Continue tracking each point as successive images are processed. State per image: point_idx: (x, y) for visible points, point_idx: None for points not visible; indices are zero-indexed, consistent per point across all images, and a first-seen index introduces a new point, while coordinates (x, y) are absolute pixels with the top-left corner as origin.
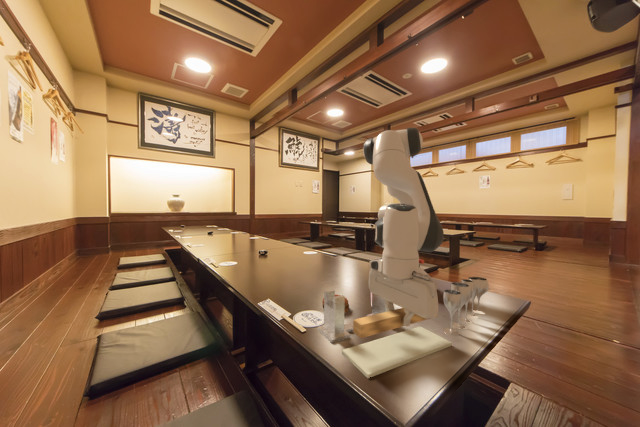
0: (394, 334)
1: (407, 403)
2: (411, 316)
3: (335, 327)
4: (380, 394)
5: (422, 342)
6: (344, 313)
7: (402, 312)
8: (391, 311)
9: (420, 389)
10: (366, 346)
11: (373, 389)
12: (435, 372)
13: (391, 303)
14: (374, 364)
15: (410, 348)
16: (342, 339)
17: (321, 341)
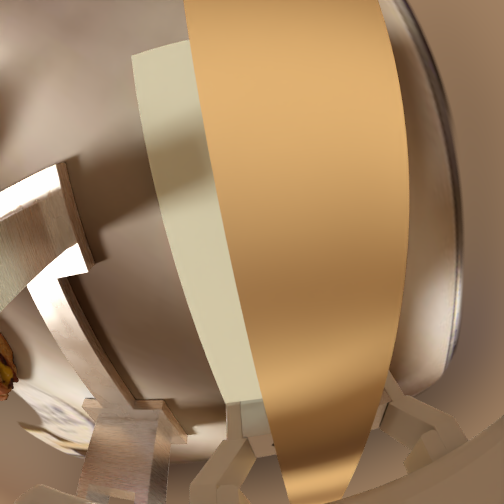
0: (178, 264)
1: (430, 365)
2: (425, 411)
3: (168, 458)
4: None
5: None
6: (2, 336)
7: (344, 438)
8: (293, 471)
9: (432, 328)
10: (243, 396)
11: None
12: (427, 252)
13: (244, 497)
14: None
15: None
16: (173, 418)
17: (175, 444)
